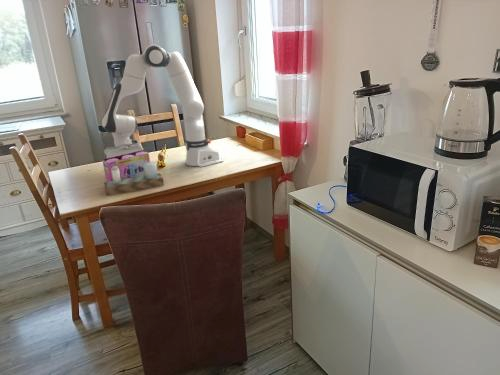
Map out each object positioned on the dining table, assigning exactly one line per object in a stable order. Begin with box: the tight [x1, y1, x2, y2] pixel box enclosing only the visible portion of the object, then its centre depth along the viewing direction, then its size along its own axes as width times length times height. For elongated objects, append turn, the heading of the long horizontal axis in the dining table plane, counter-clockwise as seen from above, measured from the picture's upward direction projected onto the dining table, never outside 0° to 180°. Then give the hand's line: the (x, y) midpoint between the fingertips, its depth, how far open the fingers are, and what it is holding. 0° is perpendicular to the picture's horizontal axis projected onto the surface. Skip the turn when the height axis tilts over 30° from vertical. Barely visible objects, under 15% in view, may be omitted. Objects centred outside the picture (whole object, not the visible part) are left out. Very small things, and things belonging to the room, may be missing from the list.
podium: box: [104, 173, 165, 196], centre depth 201 cm, size 28×8×4 cm, turn 114°
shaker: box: [111, 166, 121, 184], centre depth 195 cm, size 4×4×9 cm
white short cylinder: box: [143, 161, 158, 179], centre depth 202 cm, size 6×6×7 cm
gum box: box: [102, 149, 151, 182], centre depth 210 cm, size 24×8×14 cm, turn 129°
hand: (128, 167), depth 214 cm, fingers closed
